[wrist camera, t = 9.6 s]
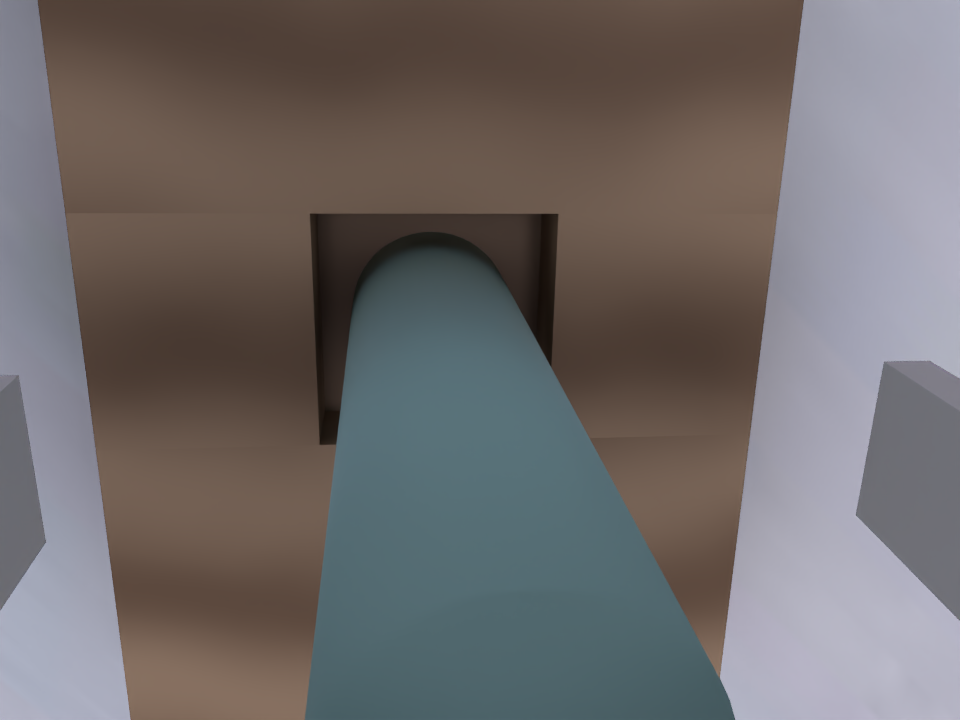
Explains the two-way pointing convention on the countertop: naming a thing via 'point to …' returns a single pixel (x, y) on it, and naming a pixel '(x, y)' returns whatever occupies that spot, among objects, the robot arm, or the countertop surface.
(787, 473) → the countertop surface
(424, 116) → the bore block
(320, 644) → the pin
